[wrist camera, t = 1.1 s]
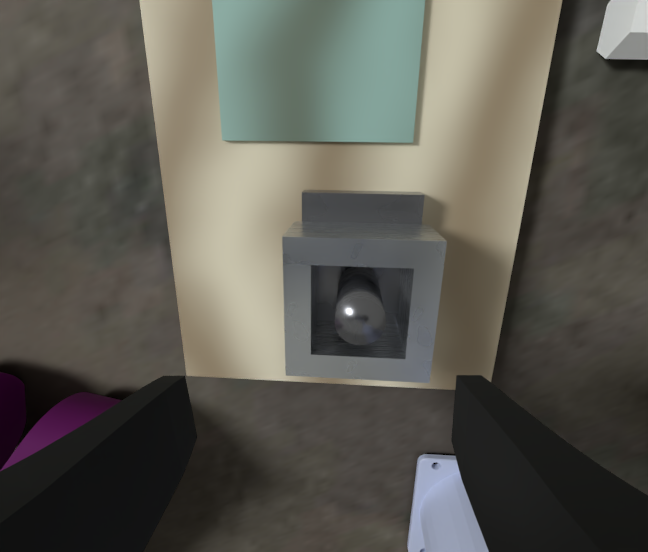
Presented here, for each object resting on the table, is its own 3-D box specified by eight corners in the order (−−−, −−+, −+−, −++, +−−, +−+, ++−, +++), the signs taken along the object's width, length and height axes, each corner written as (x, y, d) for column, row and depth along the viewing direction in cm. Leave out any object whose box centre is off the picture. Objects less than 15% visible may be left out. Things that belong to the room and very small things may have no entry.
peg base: (419, 191, 16) (447, 208, 11) (404, 353, 18) (421, 420, 14) (305, 189, 16) (286, 204, 12) (305, 348, 19) (290, 413, 14)
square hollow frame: (429, 224, 15) (446, 241, 12) (416, 344, 17) (429, 383, 14) (294, 221, 16) (282, 236, 13) (296, 338, 17) (285, 375, 14)
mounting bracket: (167, 478, 32) (122, 376, 19) (112, 606, 26) (-5, 582, 13) (61, 453, 32) (-55, 335, 19) (-19, 577, 26) (-264, 523, 13)
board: (565, -88, 13) (587, -113, 12) (482, 380, 20) (491, 395, 19) (142, -77, 14) (122, -99, 13) (194, 365, 21) (184, 378, 20)
